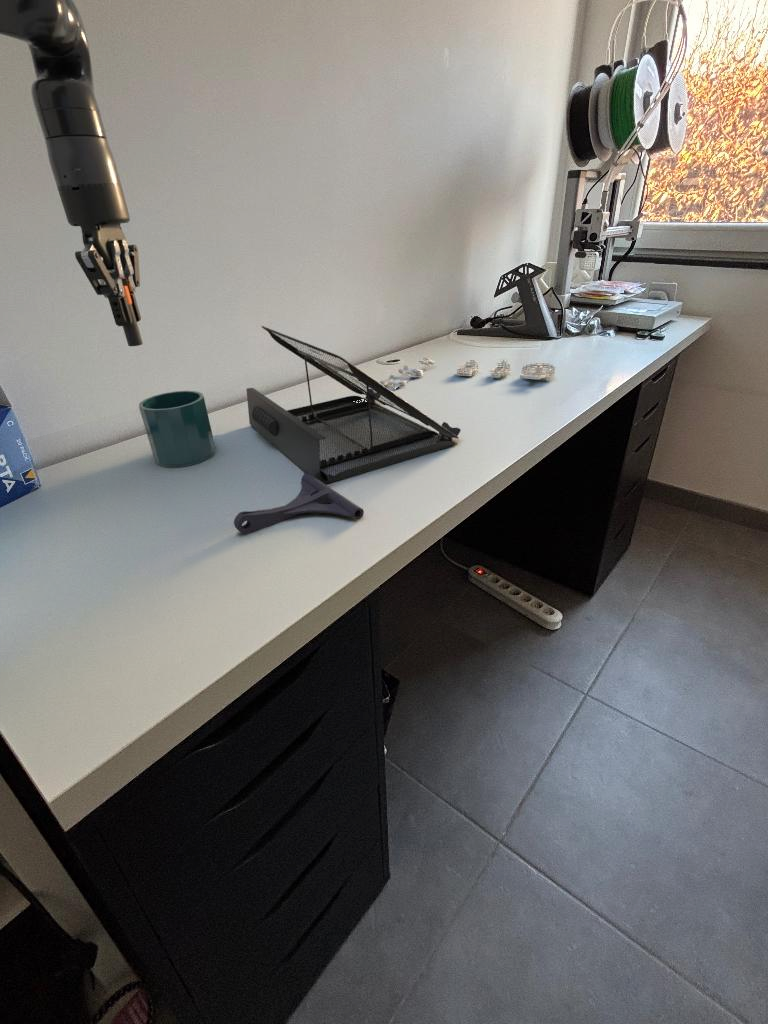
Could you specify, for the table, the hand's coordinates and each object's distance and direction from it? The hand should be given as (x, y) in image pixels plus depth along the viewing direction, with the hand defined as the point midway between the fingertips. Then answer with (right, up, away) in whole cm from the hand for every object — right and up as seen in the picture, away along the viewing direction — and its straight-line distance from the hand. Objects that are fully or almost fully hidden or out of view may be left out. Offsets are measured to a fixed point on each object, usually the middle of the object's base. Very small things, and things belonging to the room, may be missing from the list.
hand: (129, 323), depth 76 cm
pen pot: (+2, -17, +16) cm, 24 cm away
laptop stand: (+30, -13, +21) cm, 39 cm away
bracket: (+24, -28, -4) cm, 37 cm away
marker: (0, -3, +2) cm, 3 cm away
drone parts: (+56, +2, +45) cm, 72 cm away
